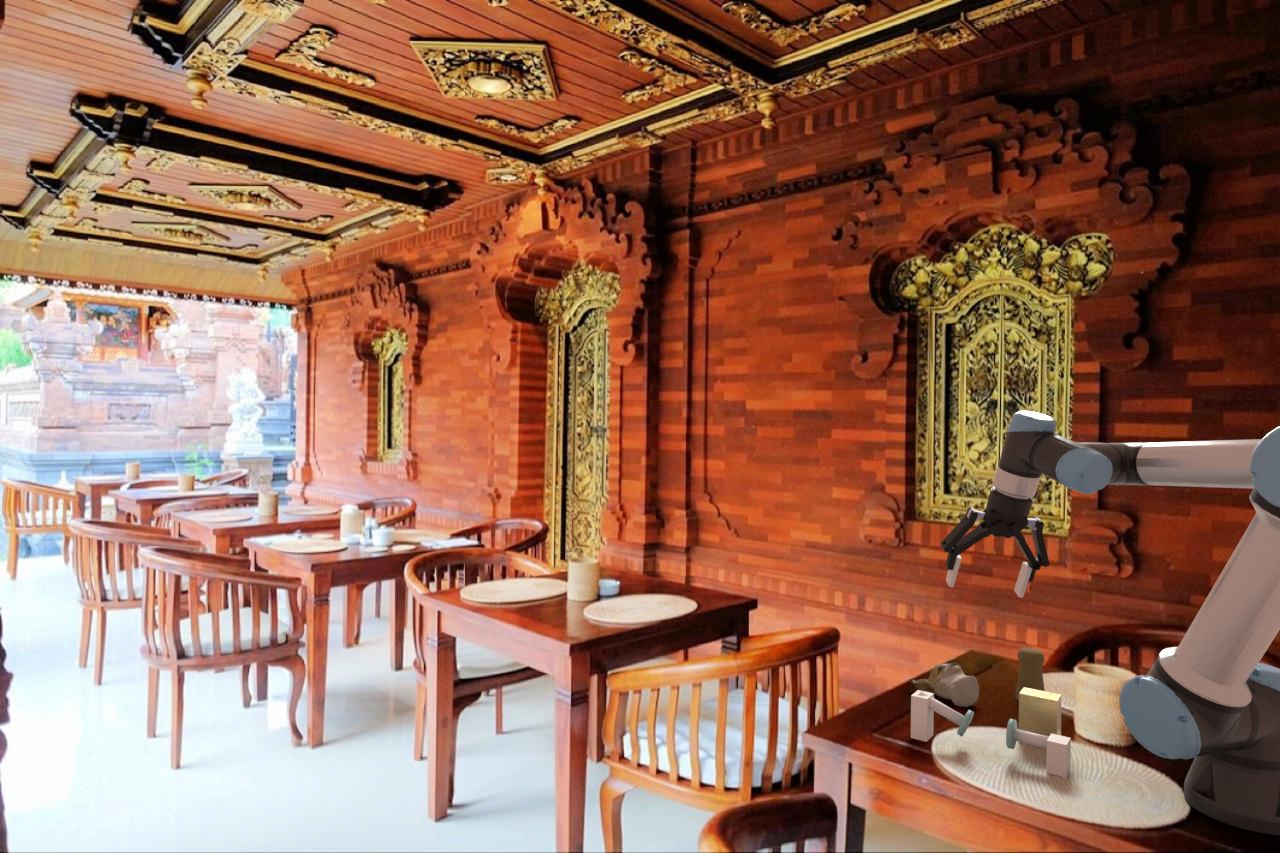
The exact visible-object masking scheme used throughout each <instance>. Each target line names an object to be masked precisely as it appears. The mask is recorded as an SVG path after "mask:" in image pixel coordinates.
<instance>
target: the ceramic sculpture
mask: <svg viewBox="0 0 1280 853" xmlns="http://www.w3.org/2000/svg"><path fill="white" fill-rule="evenodd" d="M909 682H910V683H911V684H912V685H913V686H914V687H915V688H916V689H917V690H920V691H925V692H930V693H934V695H936V696H938V697H939V698H942V699H945V700H949V701H950V700H951V701H952V702H953V704H954V705H955V706H956V707H961V708H968V707H971V706H973V705H974V704H975V703H976V702H977V701H978V698H979V697H980V696H979V695H980V686H979V682H978V680H977V678H976V677H975V675H966V674H965V673H964V671H963V669H962V667H961V666H960V665H959V664H958V663H956V662H955V661H953V660H948V661H947V663H939V664H936V665H934V666H933V667H932V669H931V670H930V674H929V677H928V679H926V678H920V679H910V678H909Z"/></svg>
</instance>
